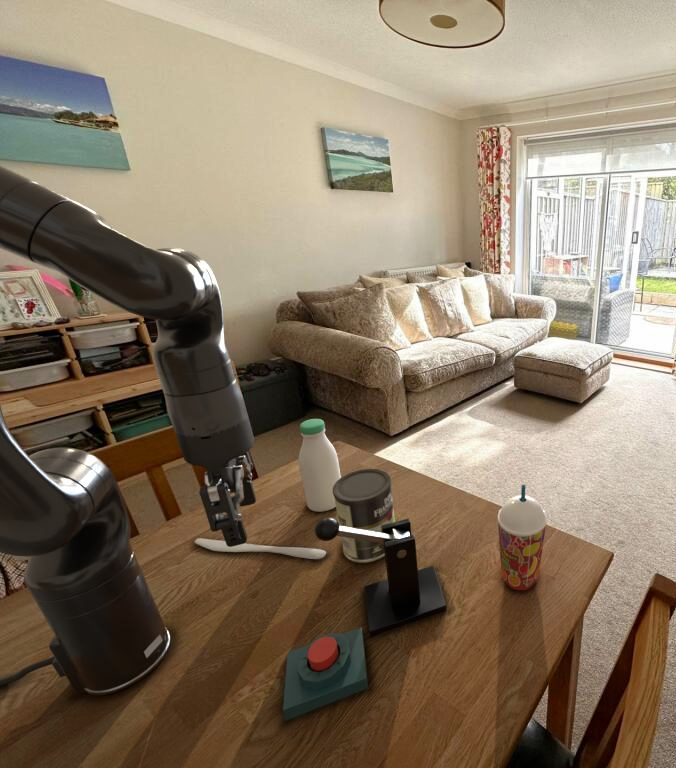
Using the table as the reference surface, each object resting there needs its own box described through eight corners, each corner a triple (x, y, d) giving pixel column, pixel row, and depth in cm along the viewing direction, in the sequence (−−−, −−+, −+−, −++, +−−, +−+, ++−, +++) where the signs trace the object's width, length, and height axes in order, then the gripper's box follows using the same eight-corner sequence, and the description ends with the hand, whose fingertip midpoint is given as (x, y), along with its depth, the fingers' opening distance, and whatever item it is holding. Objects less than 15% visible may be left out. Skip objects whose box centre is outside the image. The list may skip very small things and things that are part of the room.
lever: (310, 544, 55) (320, 525, 55) (311, 529, 58) (320, 510, 58) (404, 557, 63) (413, 540, 62) (400, 543, 65) (409, 527, 65)
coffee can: (406, 529, 84) (400, 471, 79) (381, 567, 74) (373, 505, 69) (360, 521, 86) (352, 464, 80) (331, 557, 76) (319, 496, 71)
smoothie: (489, 569, 75) (489, 478, 67) (528, 554, 78) (532, 466, 71) (509, 604, 68) (512, 508, 60) (551, 586, 71) (559, 493, 64)
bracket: (370, 637, 62) (359, 564, 56) (365, 591, 69) (354, 523, 64) (446, 611, 66) (443, 540, 61) (433, 570, 74) (429, 504, 69)
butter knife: (319, 561, 74) (327, 549, 77) (187, 546, 77) (200, 535, 80) (319, 564, 75) (328, 551, 77) (188, 549, 78) (201, 537, 80)
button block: (285, 721, 51) (279, 701, 50) (290, 662, 58) (284, 643, 57) (368, 688, 55) (364, 669, 54) (363, 637, 62) (360, 618, 60)
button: (309, 675, 53) (307, 666, 52) (310, 650, 56) (308, 642, 55) (338, 664, 54) (337, 656, 54) (337, 641, 57) (336, 632, 57)
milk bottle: (351, 498, 93) (339, 420, 85) (320, 517, 86) (305, 435, 79) (330, 487, 96) (317, 411, 89) (299, 504, 90) (283, 425, 83)
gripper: (190, 401, 54) (222, 499, 61) (153, 453, 42) (197, 569, 49) (254, 392, 57) (278, 487, 63) (236, 439, 45) (268, 550, 51)
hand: (243, 522), depth 56 cm, fingers open, 8 cm apart
